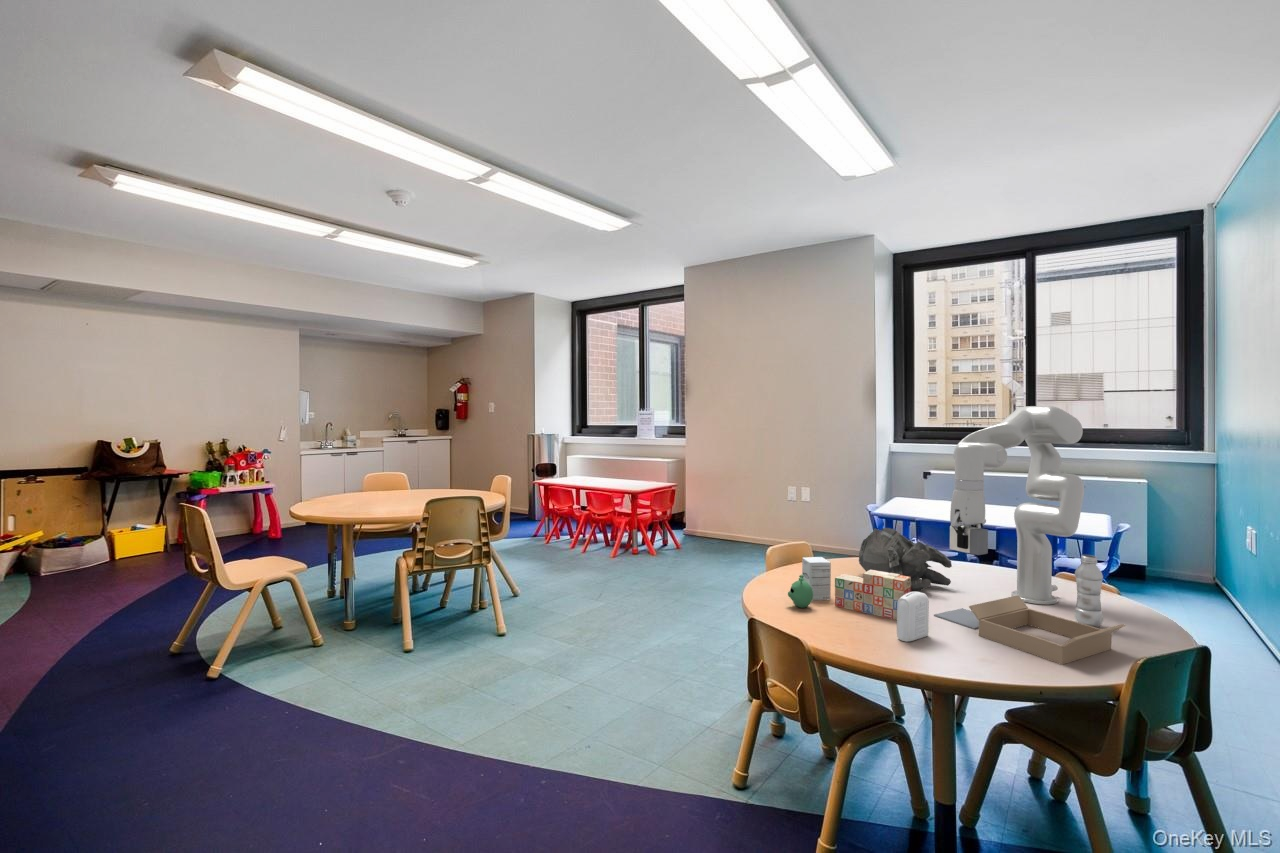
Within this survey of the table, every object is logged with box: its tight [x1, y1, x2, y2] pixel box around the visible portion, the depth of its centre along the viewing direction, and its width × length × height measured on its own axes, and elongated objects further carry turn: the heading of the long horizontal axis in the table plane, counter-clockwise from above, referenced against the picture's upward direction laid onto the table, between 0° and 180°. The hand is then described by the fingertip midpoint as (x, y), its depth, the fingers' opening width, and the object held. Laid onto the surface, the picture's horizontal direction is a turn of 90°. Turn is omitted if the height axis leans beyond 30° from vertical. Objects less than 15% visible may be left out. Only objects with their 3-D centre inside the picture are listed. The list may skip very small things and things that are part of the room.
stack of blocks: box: [834, 570, 912, 621], centre depth 188 cm, size 21×6×12 cm, turn 48°
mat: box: [933, 608, 979, 630], centre depth 181 cm, size 13×13×1 cm
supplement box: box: [801, 556, 832, 601], centre depth 203 cm, size 7×7×13 cm
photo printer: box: [896, 591, 930, 642], centre depth 166 cm, size 10×4×12 cm, turn 123°
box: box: [949, 525, 989, 556], centre depth 180 cm, size 4×9×7 cm, turn 26°
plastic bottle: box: [1074, 554, 1104, 628], centre depth 175 cm, size 6×7×20 cm
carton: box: [968, 595, 1126, 665], centre depth 162 cm, size 22×28×8 cm
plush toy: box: [858, 527, 953, 592], centre depth 220 cm, size 27×26×20 cm
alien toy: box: [787, 574, 813, 609], centre depth 192 cm, size 7×8×10 cm
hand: (968, 546), depth 180 cm, fingers closed on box, 4 cm apart
